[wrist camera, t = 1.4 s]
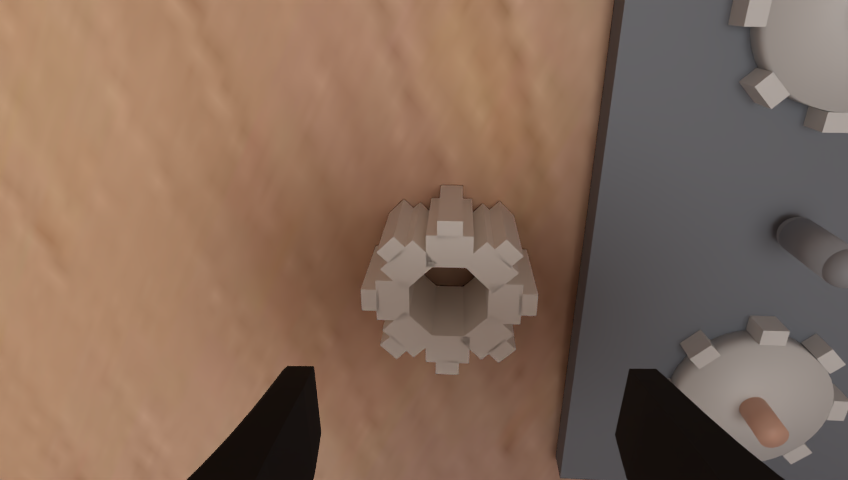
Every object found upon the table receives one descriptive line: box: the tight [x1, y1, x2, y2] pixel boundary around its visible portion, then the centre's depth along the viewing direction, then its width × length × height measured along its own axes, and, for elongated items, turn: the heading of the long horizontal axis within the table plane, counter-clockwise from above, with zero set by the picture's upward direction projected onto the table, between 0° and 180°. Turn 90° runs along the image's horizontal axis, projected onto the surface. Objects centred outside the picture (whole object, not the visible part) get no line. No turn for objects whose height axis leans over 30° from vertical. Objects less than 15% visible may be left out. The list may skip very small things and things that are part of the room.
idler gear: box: [361, 185, 538, 375], centre depth 20 cm, size 6×6×4 cm
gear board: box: [556, 0, 848, 480], centre depth 18 cm, size 24×13×5 cm, turn 0°
